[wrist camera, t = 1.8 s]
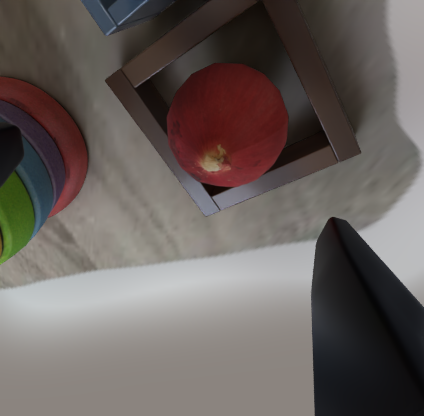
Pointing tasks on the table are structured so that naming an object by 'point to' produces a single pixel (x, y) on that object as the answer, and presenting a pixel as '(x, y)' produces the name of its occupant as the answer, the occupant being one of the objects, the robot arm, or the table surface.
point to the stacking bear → (37, 164)
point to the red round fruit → (227, 125)
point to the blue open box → (124, 12)
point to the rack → (305, 68)
